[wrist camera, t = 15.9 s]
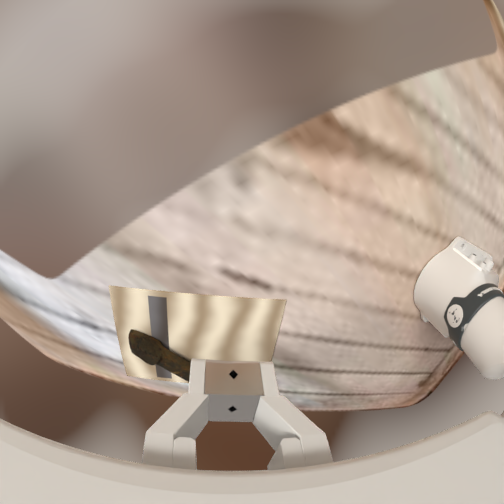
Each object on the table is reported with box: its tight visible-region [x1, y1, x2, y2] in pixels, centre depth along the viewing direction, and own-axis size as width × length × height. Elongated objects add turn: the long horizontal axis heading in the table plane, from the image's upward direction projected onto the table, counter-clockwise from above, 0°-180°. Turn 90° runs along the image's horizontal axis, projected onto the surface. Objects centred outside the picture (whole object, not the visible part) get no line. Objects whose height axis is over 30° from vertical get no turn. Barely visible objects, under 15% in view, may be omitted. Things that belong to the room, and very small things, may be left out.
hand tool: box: [128, 329, 191, 382], centre depth 46 cm, size 19×4×5 cm, turn 42°
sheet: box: [109, 285, 286, 383], centre depth 48 cm, size 28×22×1 cm
